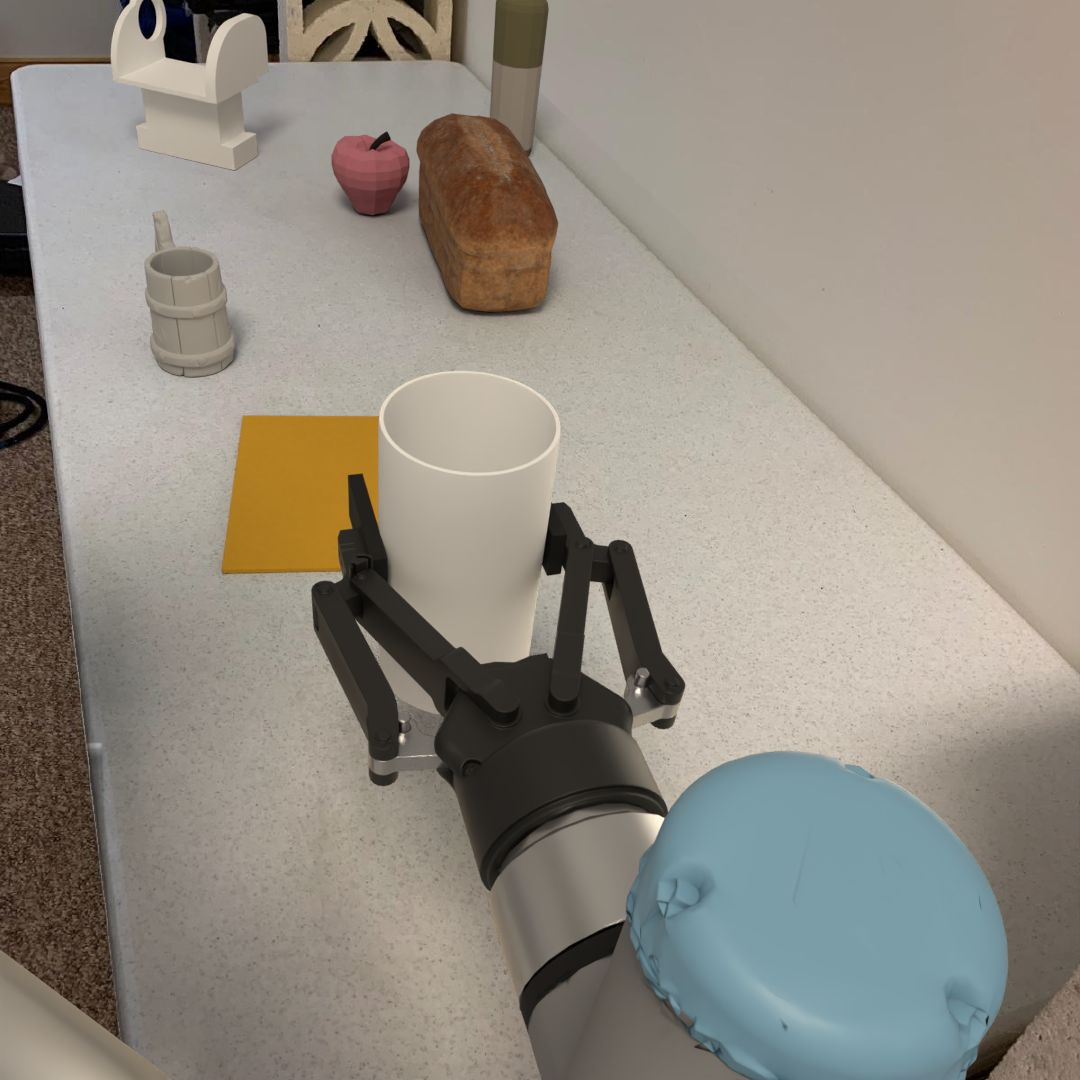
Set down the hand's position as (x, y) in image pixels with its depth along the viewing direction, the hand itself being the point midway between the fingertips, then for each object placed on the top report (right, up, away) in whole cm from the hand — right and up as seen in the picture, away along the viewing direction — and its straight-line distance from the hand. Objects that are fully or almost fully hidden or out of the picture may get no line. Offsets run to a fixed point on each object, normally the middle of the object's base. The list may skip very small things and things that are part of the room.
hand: (439, 485), depth 53 cm
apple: (-16, +38, +71) cm, 82 cm away
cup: (+1, -10, +2) cm, 10 cm away
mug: (-29, +16, +44) cm, 55 cm away
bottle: (+1, +53, +91) cm, 105 cm away
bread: (-2, +29, +64) cm, 70 cm away
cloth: (-8, +1, +31) cm, 32 cm away
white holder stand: (-40, +49, +80) cm, 102 cm away
